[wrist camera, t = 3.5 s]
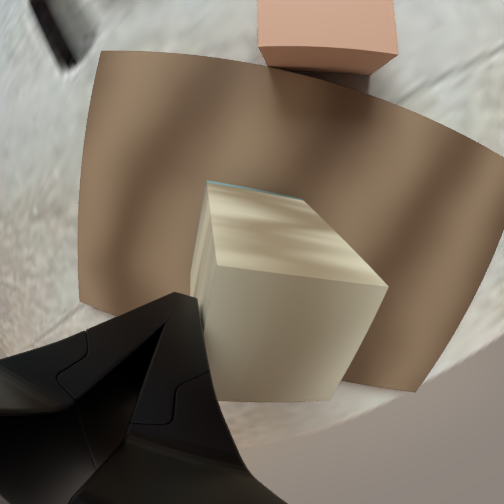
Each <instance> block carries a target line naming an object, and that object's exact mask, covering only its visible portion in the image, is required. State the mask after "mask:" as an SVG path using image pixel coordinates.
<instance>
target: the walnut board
mask: <svg viewBox="0 0 504 504" xmlns="http://www.w3.org/2000/svg"><path fill="white" fill-rule="evenodd" d="M207 180H208V181H214V182H219V183H225V184H231V185H236V186H242V187H247V188H252V189H257V190H263V191H268V192H273V193H278V194H283V195H287V196H292V197H297V198H301V199H302V200H304V201H305V202H306V203H307V204H308V205H309V206H310V207H311V208H312V209H313V210H314V211H315V212H316V213H317V214H318V215H319V216H320V217H321V218H322V219H323V220H324V221H325V222H326V223H327V224H328V225H329V226H330V227H331V228H332V229H333V230H334V231H335V232H336V233H337V234H338V235H339V236H340V237H341V238H342V239H343V240H344V241H345V242H346V243H347V244H348V245H349V246H350V247H351V248H352V249H353V250H354V251H355V252H356V253H357V254H358V255H359V256H360V257H361V258H362V259H363V260H364V261H365V262H366V263H367V264H368V265H369V266H370V267H371V268H372V269H373V270H374V272H375V273H376V274H377V275H378V276H379V277H380V278H381V279H382V280H383V281H384V282H385V283H386V284H387V285H388V286H389V287H388V289H387V292H386V294H385V296H384V298H383V300H382V302H381V305H380V307H379V309H378V311H377V313H376V315H375V317H374V319H373V321H372V323H371V325H370V327H369V329H368V331H367V333H366V335H365V337H364V339H363V341H362V343H361V345H360V347H359V349H358V351H357V352H356V354H355V356H354V358H353V360H352V362H351V363H350V365H349V367H348V369H347V371H346V372H345V374H344V376H343V378H342V379H341V381H347V382H352V383H358V384H363V385H369V386H375V387H381V388H388V389H394V390H401V391H409V392H416V391H417V389H418V388H419V387H420V385H421V384H422V382H423V381H424V380H425V378H426V377H427V375H428V374H429V372H430V371H431V369H432V368H433V366H434V365H435V363H436V362H437V360H438V359H439V357H440V356H441V354H442V352H443V351H444V349H445V348H446V346H447V344H448V343H449V341H450V339H451V338H452V336H453V334H454V333H455V331H456V329H457V328H458V326H459V324H460V322H461V320H462V319H463V317H464V315H465V313H466V311H467V309H468V308H469V306H470V304H471V302H472V300H473V298H474V296H475V294H476V292H477V290H478V288H479V286H480V284H481V282H482V280H483V278H484V275H485V273H486V271H487V269H488V267H489V264H490V262H491V260H492V257H493V255H494V253H495V250H496V248H497V245H498V243H499V240H500V238H501V235H502V233H503V230H504V157H502V156H500V155H499V154H497V153H495V152H493V151H492V150H490V149H488V148H486V147H485V146H483V145H481V144H479V143H477V142H476V141H474V140H472V139H470V138H468V137H466V136H464V135H462V134H460V133H458V132H456V131H454V130H452V129H450V128H448V127H446V126H444V125H442V124H440V123H438V122H435V121H433V120H431V119H429V118H427V117H424V116H422V115H420V114H417V113H415V112H413V111H410V110H408V109H405V108H403V107H400V106H398V105H395V104H393V103H390V102H388V101H385V100H382V99H379V98H377V97H374V96H371V95H368V94H365V93H362V92H359V91H356V90H353V89H350V88H347V87H344V86H341V85H338V84H334V83H331V82H327V81H324V80H320V79H317V78H313V77H309V76H305V75H302V74H298V73H293V72H289V71H285V70H281V69H276V68H271V67H267V66H262V65H256V64H251V63H246V62H240V61H234V60H227V59H221V58H213V57H206V56H197V55H188V54H177V53H164V52H147V51H101V54H100V58H99V63H98V67H97V71H96V76H95V80H94V85H93V90H92V96H91V101H90V107H89V113H88V119H87V125H86V132H85V140H84V148H83V157H82V166H81V178H80V192H79V210H78V280H79V299H80V302H82V303H85V304H87V305H90V306H92V307H95V308H97V309H99V310H102V311H104V312H107V313H110V314H112V315H115V316H119V315H122V314H124V313H126V312H128V311H131V310H133V309H135V308H138V307H140V306H142V305H145V304H147V303H149V302H152V301H154V300H156V299H158V298H161V297H163V296H165V295H168V294H170V293H172V292H178V293H182V294H185V295H189V296H190V277H191V264H192V258H193V252H194V246H195V241H196V235H197V229H198V224H199V218H200V213H201V208H202V202H203V197H204V192H205V187H206V182H207Z"/></svg>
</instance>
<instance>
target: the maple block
mask: <svg viewBox="0 0 504 504" xmlns="http://www.w3.org/2000/svg"><path fill="white" fill-rule="evenodd" d="M388 287H389V286H388V285H387V284H386V283H385V282H384V281H383V280H382V279H381V278H380V277H379V276H378V275H377V274H376V273H375V272H374V270H373V269H372V268H371V267H370V266H369V265H368V264H367V263H366V262H365V261H364V260H363V259H362V258H361V257H360V256H359V255H358V254H357V253H356V252H355V251H354V250H353V249H352V248H351V247H350V246H349V245H348V244H347V243H346V242H345V241H344V240H343V239H342V238H341V237H340V236H339V235H338V234H337V233H336V232H335V231H334V230H333V229H332V228H331V227H330V226H329V225H328V224H327V223H326V222H325V221H324V220H323V219H322V218H321V217H320V216H319V215H318V214H317V213H316V212H315V211H314V210H313V209H312V208H311V207H310V206H309V205H308V204H307V203H306V202H305V201H304V200H302V199H301V198H297V197H292V196H287V195H283V194H278V193H273V192H268V191H263V190H257V189H252V188H247V187H242V186H236V185H231V184H225V183H219V182H214V181H208V180H207V182H206V187H205V192H204V197H203V202H202V208H201V213H200V218H199V224H198V229H197V235H196V241H195V246H194V252H193V258H192V264H191V277H190V296H192V297H196V298H197V299H198V305H199V311H200V317H201V323H202V329H203V334H204V340H205V345H206V351H207V356H208V361H209V367H210V372H211V376H212V381H213V386H214V389H215V393H216V397H217V401H234V402H305V401H325V400H330V398H331V396H332V395H333V393H334V391H335V390H336V388H337V386H338V385H339V383H340V381H341V379H342V378H343V376H344V374H345V372H346V371H347V369H348V367H349V365H350V363H351V362H352V360H353V358H354V356H355V354H356V352H357V351H358V349H359V347H360V345H361V343H362V341H363V339H364V337H365V335H366V333H367V331H368V329H369V327H370V325H371V323H372V321H373V319H374V317H375V315H376V313H377V311H378V309H379V307H380V305H381V302H382V300H383V298H384V296H385V294H386V292H387V289H388Z"/></svg>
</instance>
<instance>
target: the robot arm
mask: <svg viewBox="0 0 504 504" xmlns="http://www.w3.org/2000/svg"><path fill="white" fill-rule="evenodd" d="M0 504H287V503H286V502H285V501H283V500H282V499H281V498H279V497H278V496H277V495H275V494H274V493H273V492H272V491H270V490H269V489H268V488H267V487H265V486H264V485H263V484H262V483H260V482H259V481H258V480H257V479H256V478H255V477H254V476H253V475H252V474H251V473H250V471H249V470H248V469H247V467H246V465H245V464H244V462H243V460H242V458H241V456H240V454H239V452H238V449H237V447H236V445H235V442H234V440H233V438H232V436H231V433H230V431H229V429H228V426H227V424H226V422H225V419H224V417H223V414H222V412H221V409H220V406H219V403H218V401H217V397H216V393H215V389H214V386H213V381H212V376H211V372H210V367H209V361H208V356H207V351H206V345H205V340H204V334H203V329H202V323H201V317H200V311H199V305H198V299H197V298H196V297H192V296H189V295H185V294H182V293H178V292H172V293H170V294H168V295H165V296H163V297H161V298H158V299H156V300H154V301H152V302H149V303H147V304H145V305H142V306H140V307H138V308H135V309H133V310H131V311H128V312H126V313H124V314H122V315H119V316H117V317H115V318H112V319H110V320H108V321H105V322H103V323H101V324H98V325H96V326H94V327H92V328H89V329H87V330H86V331H82V332H80V333H77V334H75V335H73V336H70V337H68V338H65V339H63V340H60V341H57V342H55V343H52V344H49V345H46V346H43V347H40V348H36V349H33V350H30V351H26V352H23V353H20V354H17V355H13V356H10V357H6V358H3V359H0Z"/></svg>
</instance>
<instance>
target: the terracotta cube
mask: <svg viewBox="0 0 504 504" xmlns="http://www.w3.org/2000/svg"><path fill="white" fill-rule="evenodd" d="M257 16H258V47H259V49H260V51H261V53H262V55H263V57H264V59H265V61H266V63H267V65H268V67H271V68H276V69H281V70H285V71H318V72H337V73H351V74H362V75H371V74H372V73H374V72H375V71H376V70H378V69H379V68H381V67H382V66H383V65H385V64H386V63H387V62H389V61H390V60H391V59H393V58H394V57H396V56H397V55H398V44H397V33H396V23H395V14H394V6H393V0H257Z"/></svg>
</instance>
